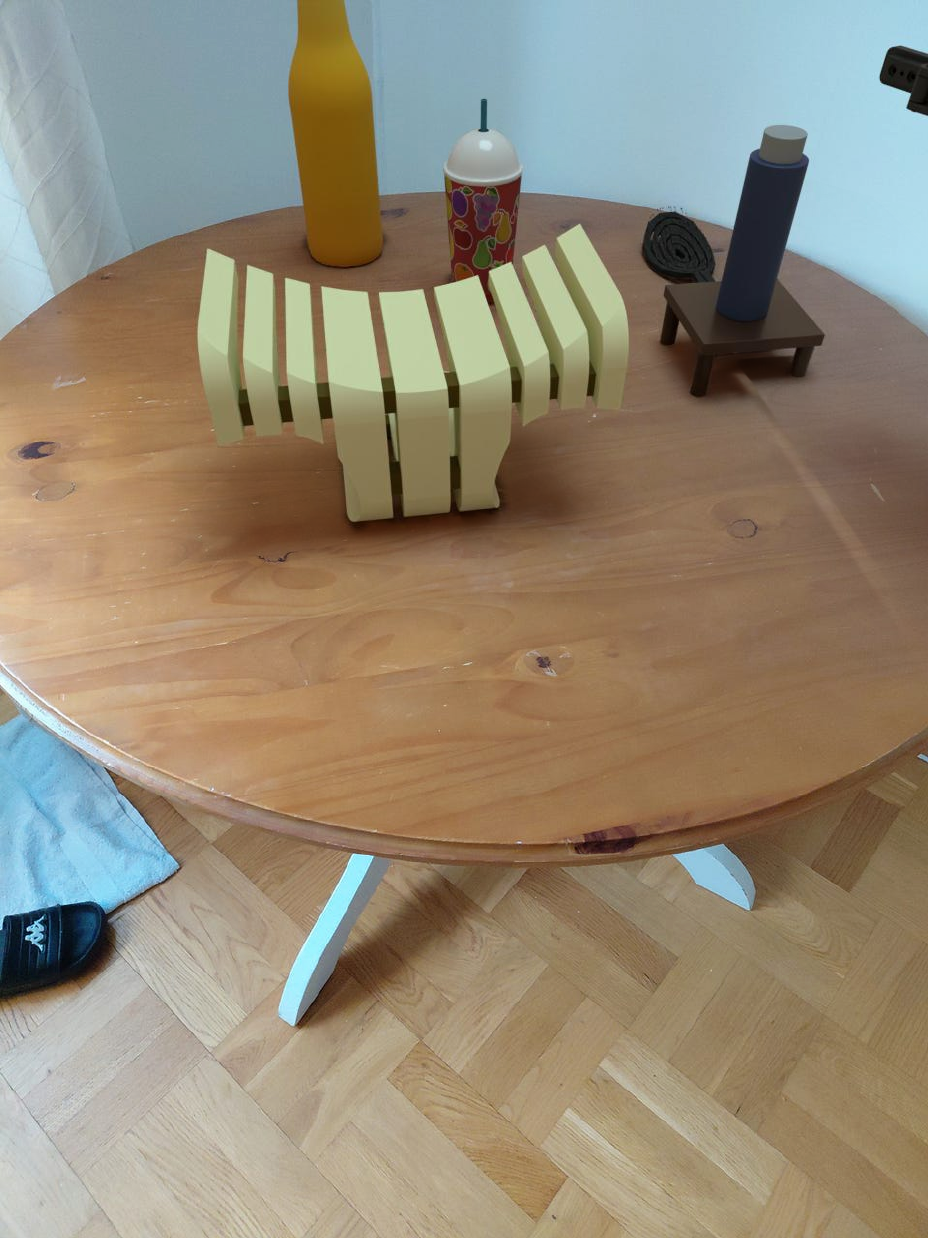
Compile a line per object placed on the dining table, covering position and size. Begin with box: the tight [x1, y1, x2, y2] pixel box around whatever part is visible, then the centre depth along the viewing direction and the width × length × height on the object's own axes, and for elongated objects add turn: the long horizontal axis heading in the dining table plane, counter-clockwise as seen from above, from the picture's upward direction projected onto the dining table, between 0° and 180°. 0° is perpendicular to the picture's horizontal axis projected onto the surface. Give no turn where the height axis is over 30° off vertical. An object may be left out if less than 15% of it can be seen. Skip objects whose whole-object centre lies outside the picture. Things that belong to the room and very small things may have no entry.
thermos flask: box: [716, 124, 810, 321], centre depth 79 cm, size 5×5×16 cm
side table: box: [659, 278, 826, 398], centre depth 87 cm, size 12×12×6 cm
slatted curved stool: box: [197, 223, 630, 523], centre depth 70 cm, size 30×16×18 cm, turn 98°
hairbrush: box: [641, 205, 717, 283], centre depth 100 cm, size 8×4×25 cm
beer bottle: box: [287, 0, 384, 268], centre depth 96 cm, size 9×9×29 cm
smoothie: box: [442, 98, 524, 304], centre depth 92 cm, size 8×8×20 cm
